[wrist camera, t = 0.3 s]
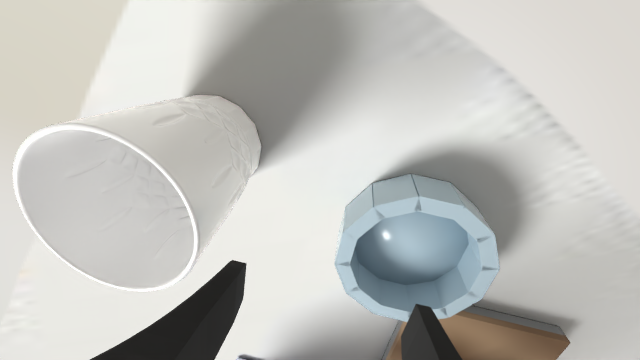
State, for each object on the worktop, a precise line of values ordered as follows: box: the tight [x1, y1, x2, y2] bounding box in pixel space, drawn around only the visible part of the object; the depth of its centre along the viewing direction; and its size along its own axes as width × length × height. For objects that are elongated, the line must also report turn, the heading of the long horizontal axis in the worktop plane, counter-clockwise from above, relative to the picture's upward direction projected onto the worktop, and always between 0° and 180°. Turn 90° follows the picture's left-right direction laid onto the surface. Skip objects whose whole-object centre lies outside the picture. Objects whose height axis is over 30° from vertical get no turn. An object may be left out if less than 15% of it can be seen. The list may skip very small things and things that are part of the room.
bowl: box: [335, 174, 500, 322], centre depth 21 cm, size 10×10×3 cm
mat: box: [381, 306, 566, 360], centre depth 26 cm, size 12×12×1 cm
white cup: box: [13, 95, 261, 292], centre depth 17 cm, size 8×8×10 cm
